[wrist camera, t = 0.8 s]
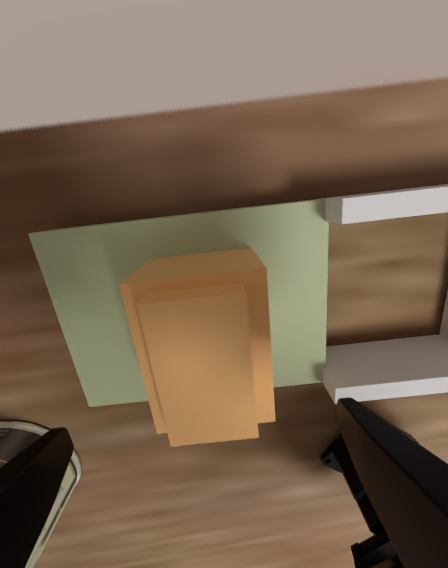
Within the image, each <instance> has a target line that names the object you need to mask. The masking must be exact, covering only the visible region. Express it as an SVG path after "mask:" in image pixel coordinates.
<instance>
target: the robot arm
mask: <svg viewBox="0 0 448 568" xmlns="http://www.w3.org/2000/svg"><path fill="white" fill-rule="evenodd" d="M337 423H338V426H339V429H340V431H341V434H342V436H341V437H340V438H339V439H338V440H337V441H336V442H335V443H334V444H333V445H332V446H331V447H330V448H329V449H328V450H327V451H326V452H325V453H323V454H322V456H321V460H322V462H323V464H324V465H326V466H328V467H330V468H332V469H334V470H336V471H338V472H340V473H342V474H343V476H344V478H345V480H346V482H347V484H348V487H349V489H350V491H351V493H352V495H353V498H354V499H355V500H356V502H357V504H358V506H359V508H360V510H361V513H362V515H363V517H364V519H365V521H366V523H367V526H368V528H369V530H370V532H372V533H373V534H374V535H373V536H372V537H370V538H368V539H366V540H364V541H363V542H361V543H355V544H353V545H351V550H352V554H353V557H354V564H355V568H448V464H447V463H446V462H444V461H443V460H441V459H440V458H438V457H437V456H436V455H434V454H433V453H431V452H430V451H428V450H427V449H425V448H424V447H422V446H421V445H420V444H419V443H418V442H417V441H416V440H415V439H414V438H413V437H411V436H409V435H407V434H406V433H404V432H402V431H400V430H398V429H397V428H395V427H394V426H392V425H391V424H389V423H388V422H386V421H385V420H383V419H382V418H381V417H379V416H378V415H376V414H375V413H373V412H372V411H370V410H369V409H367V408H366V407H365V406H363V405H362V404H360V403H359V402H357V401H356V400H354V399H353V398H351V397H347V398H339V399H338V401H337ZM73 449H74V446H73V442H72V440H71V437H70V435H69V432H68V430H67V429H66V428H65V427H60V428H53V429H51V430H49V431H48V432H46V433H45V434H44V435H42V436H41V437H40V438H38V439H37V440H36V441H34V442H33V443H32V444H30V445H29V446H28V447H27V448H25V449H24V450H23V451H21V452H20V453H19V454H17V455H16V456H15V457H13V458H12V459H11V460H9V461H8V462H7V463H5V464H4V465H3V466H1V467H0V568H25V567H26V565H27V562H28V560H29V558H30V556H31V554H32V551H33V549H34V547H35V545H36V543H37V541H38V538H39V536H40V534H41V532H42V530H43V528H44V525H45V523H46V521H47V519H48V517H49V514H50V512H51V510H52V507H53V505H54V502H55V500H56V497H57V495H58V492H59V489H60V487H61V484H62V481H63V478H64V476H65V473H66V470H67V468H68V465H69V462H70V460H71V457H72V454H73Z"/></svg>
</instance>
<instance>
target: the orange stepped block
mask: <svg viewBox="0 0 448 568" xmlns="http://www.w3.org/2000/svg"><path fill="white" fill-rule="evenodd" d="M119 287H120V291H121V294H122V298H123V302H124V306H125V310H126V314H127V318H128V322H129V326H130V330H131V334H132V337H133V341H134V345H135V349H136V353H137V357H138V361H139V365H140V369H141V373H142V377H143V380H144V384H145V388H146V392H147V396H148V400H149V404H150V408H151V412H152V416H153V420H154V423H155V427H156V431H157V434H161V433H168V437H169V442H170V446H171V447H173V446H183V445H192V444H202V443H212V442H221V441H231V440H241V439H250V438H259V434H258V423H266V422H276V421H275V404H274V386H273V369H272V351H271V334H270V317H269V299H268V282H267V268H266V266H265V265H264V264H263V262H262V261H261V260H260V258H259V257H258V256H257V254H256V253H255V252H254V250H253V249H252V248H242V249H233V250H225V251H216V252H207V253H198V254H189V255H180V256H172V257H163V258H154V259H149V260H148V261H147V262H146V263H144V264H143V265H142V266H141V267H140V268H138V269H137V270H136V271H135V272H133V273H132V274H131V275H130V276H129V277H127V278H126V279H125V280H124V281H122V282H121V283H120V284H119Z"/></svg>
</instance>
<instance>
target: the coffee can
mask: <svg viewBox="0 0 448 568" xmlns="http://www.w3.org/2000/svg"><path fill="white" fill-rule="evenodd" d="M48 431H49V429H45V428H43V427H41V426H39V425H35V424H32V423H27V422H20V421H0V467H1V466H3V465H4V464H5V463H7V462H8V461H9V460H11V459H12V458H13V457H15V456H16V455H17V454H19V453H20V452H21V451H23V450H24V449H25V448H27V447H28V446H29V445H30V444H32V443H33V442H34V441H36V440H37V439H38V438H40V437H41V436H42V435H44V434H45V433H46V432H48ZM80 475H81V463H80V459H79V457H78V456H77V454H76V452H75V451H74V449H73V454H72V457H71V460H70V462H69V465H68V468H67V470H66V473H65V476H64V478H63V481H62V484H61V487H60V489H59V492H58V495H57V497H56V500H55V502H54V505H53V507H52V510H51V512H50V514H49V517H48V519H47V521H46V523H45V525H44V528H43V530H42V532H41V534H40V536H39V538H38V541H37V543H36V545H35V547H34V549H33V551H32V554H31V556H30V558H29V560H28V562H27V565H26V567H25V568H34V567H35V564H36V563H37V561H38V559H39V557H40V555H41V553H42V551H43V549H44V547H45V545H46V543H47V541H48V539H49V537H50V535H51V533H52V531H53V529H54V527H55V525H56V523H57V521H58V519H59V517H60V515H61V513H62V511H63V509H64V507H65V505H66V503H67V501H68V499H69V497H70V495H71V493H72V491H73V489H74V488H75V486H76V485H77V483H78V481H79V479H80Z"/></svg>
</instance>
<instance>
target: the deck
mask: <svg viewBox="0 0 448 568" xmlns="http://www.w3.org/2000/svg"><path fill="white" fill-rule="evenodd" d="M444 212H448V184H442V185H434V186H425V187H416V188H408V189H399V190H390V191H382V192H373V193H364V194H356V195H347V196H338V197H330V198H321V199H312V200H303V201H295V202H286V203H277V204H269V205H260V206H251V207H243V208H234V209H225V210H217V211H208V212H199V213H191V214H182V215H173V216H165V217H156V218H147V219H139V220H130V221H121V222H113V223H104V224H95V225H87V226H78V227H69V228H61V229H53V230H47V231H41V232H34V233H28V235H29V238H30V240H31V243H32V246H33V249H34V252H35V255H36V258H37V260H38V263H39V266H40V269H41V272H42V275H43V277H44V280H45V283H46V286H47V289H48V292H49V294H50V297H51V300H52V303H53V306H54V309H55V311H56V314H57V317H58V320H59V323H60V326H61V328H62V331H63V334H64V337H65V340H66V343H67V345H68V348H69V351H70V354H71V357H72V360H73V362H74V365H75V368H76V371H77V374H78V377H79V379H80V382H81V385H82V388H83V391H84V394H85V396H86V399H87V402H88V405H89V407H95V406H104V405H114V404H123V403H132V402H142V401H149V400H148V396H147V392H146V388H145V384H144V380H143V377H142V373H141V369H140V365H139V361H138V357H137V353H136V349H135V345H134V341H133V337H132V334H131V330H130V326H129V322H128V318H127V314H126V310H125V306H124V302H123V298H122V294H121V291H120V287H119V284H120V283H121V282H122V281H124V280H125V279H126V278H127V277H129V276H130V275H131V274H132V273H133V272H135V271H136V270H137V269H138V268H140V267H141V266H142V265H143V264H144V263H146V262H147V261H148V260H149V259H154V258H163V257H172V256H180V255H189V254H198V253H207V252H216V251H225V250H233V249H242V248H252V249H253V250H254V252H255V253H256V254H257V256H258V257H259V258H260V260H261V261H262V262H263V264H264V265H265V266H266V268H267V282H268V299H269V317H270V334H271V351H272V369H273V386H274V387H283V386H292V385H302V384H311V383H321V382H322V383H323V384H324V386H325V388H326V389H327V391H328V393H329V395H330V396H331V398H332V400H333V401H334V403H335V404H337V401H338V399H339V398H347V397H351V398H353V399H354V400H356V401H357V402H359V401H368V400H378V399H387V398H397V397H406V396H416V395H425V394H435V393H444V392H448V289H447V295H446V300H445V306H444V311H443V317H442V322H441V328H440V333H439V334H437V335H428V336H418V337H409V338H400V339H390V340H381V341H372V342H363V343H353V344H344V345H335V346H326V321H327V276H328V230H329V222H332V223H338V224H348V223H356V222H365V221H374V220H383V219H391V218H400V217H409V216H418V215H427V214H435V213H444Z"/></svg>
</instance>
